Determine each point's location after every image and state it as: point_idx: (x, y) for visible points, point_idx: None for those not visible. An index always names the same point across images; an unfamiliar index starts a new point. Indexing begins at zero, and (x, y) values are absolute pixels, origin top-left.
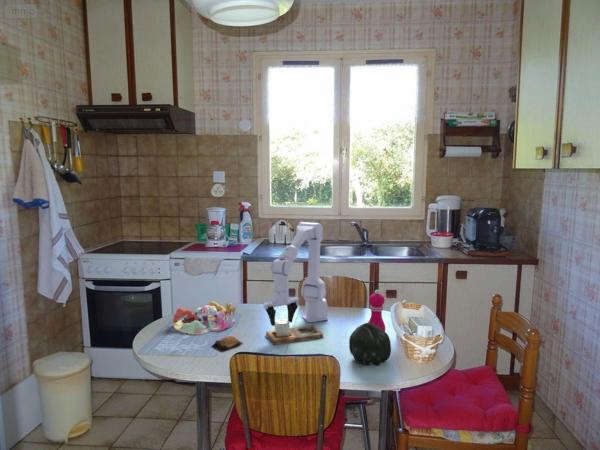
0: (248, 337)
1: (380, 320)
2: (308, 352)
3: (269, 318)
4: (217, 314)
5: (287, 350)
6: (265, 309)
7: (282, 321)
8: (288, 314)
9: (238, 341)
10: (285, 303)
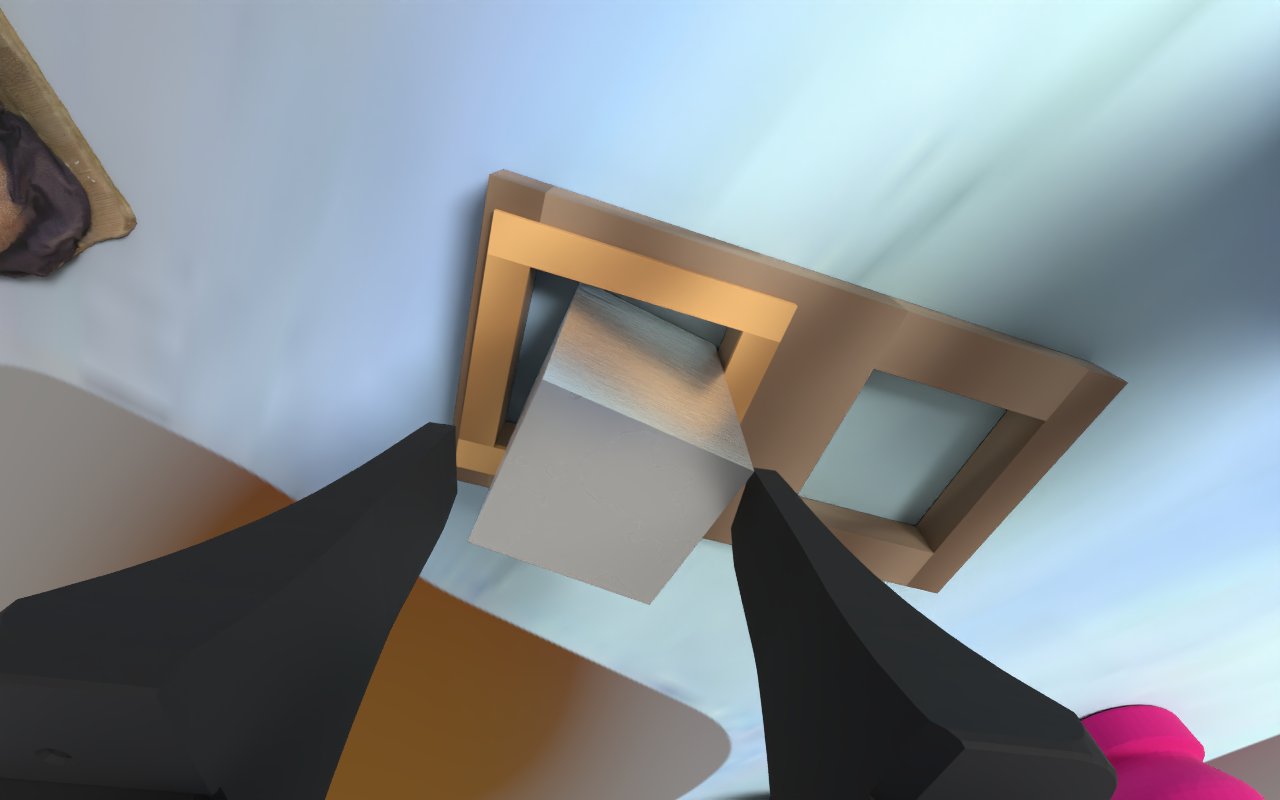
0: (235, 69)
1: None
2: (621, 659)
3: (355, 469)
4: None
5: (510, 577)
6: (58, 591)
7: (610, 512)
8: (786, 551)
9: (19, 220)
10: None
